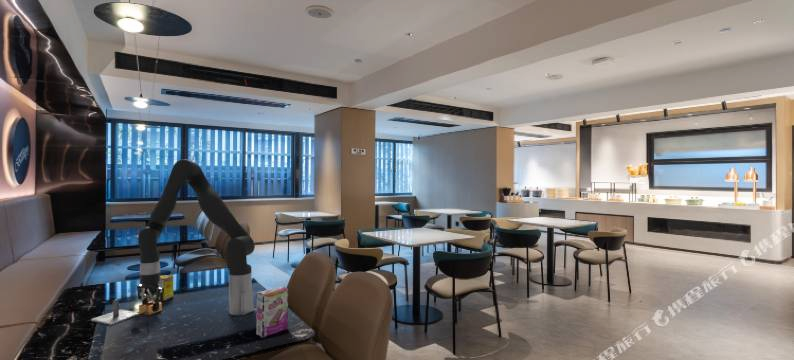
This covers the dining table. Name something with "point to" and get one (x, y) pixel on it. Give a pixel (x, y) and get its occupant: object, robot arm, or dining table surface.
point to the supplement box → (166, 286)
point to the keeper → (115, 315)
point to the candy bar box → (272, 311)
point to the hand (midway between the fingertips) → (150, 309)
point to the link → (148, 308)
